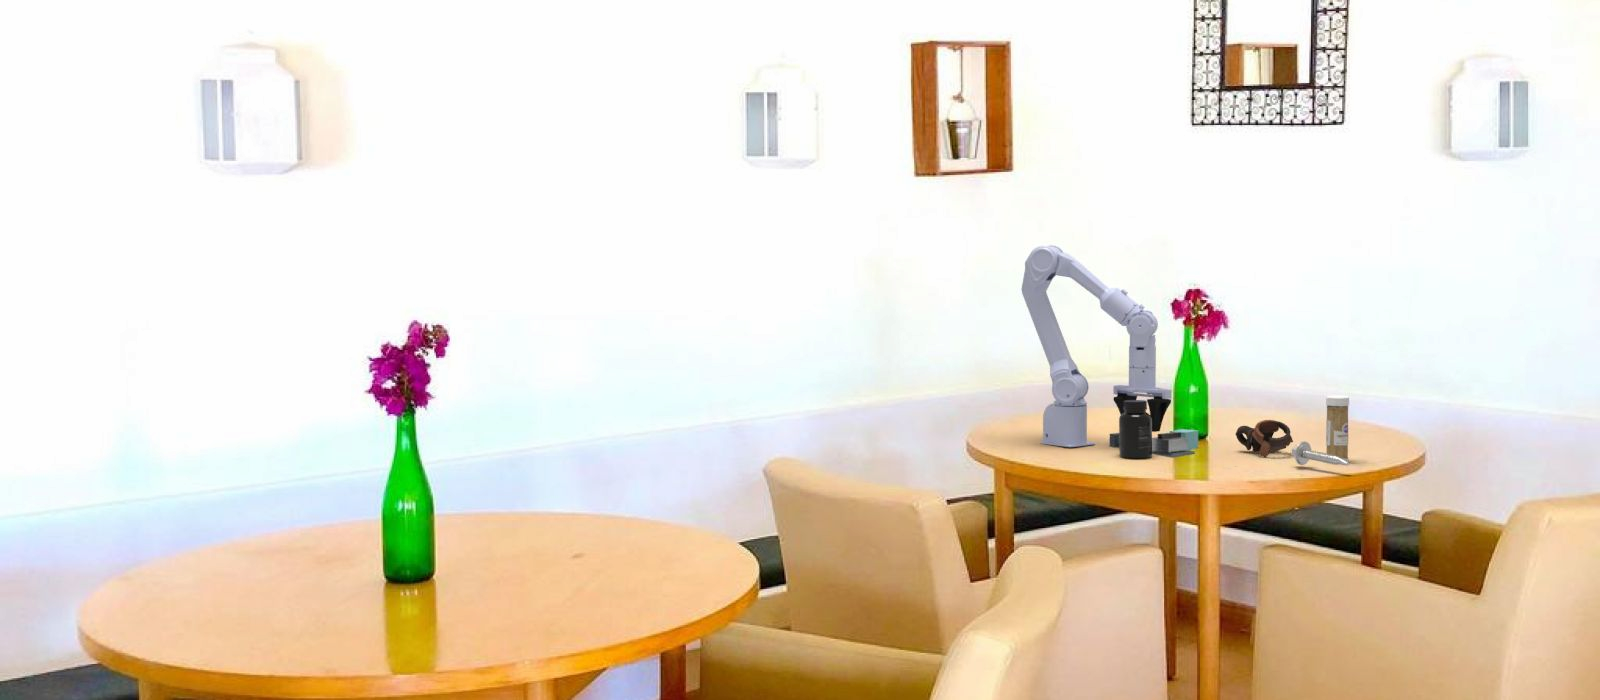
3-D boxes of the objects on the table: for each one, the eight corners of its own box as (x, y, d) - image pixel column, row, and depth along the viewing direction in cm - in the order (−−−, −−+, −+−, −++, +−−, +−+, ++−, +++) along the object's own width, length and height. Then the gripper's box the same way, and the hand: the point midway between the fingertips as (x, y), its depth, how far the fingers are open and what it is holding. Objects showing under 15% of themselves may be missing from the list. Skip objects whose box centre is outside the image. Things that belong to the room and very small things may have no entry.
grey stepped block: (1150, 450, 394) (1150, 433, 394) (1169, 447, 398) (1170, 431, 397) (1168, 452, 390) (1168, 435, 390) (1187, 449, 394) (1187, 433, 393)
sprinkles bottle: (1344, 462, 379) (1345, 397, 378) (1322, 461, 381) (1323, 396, 380) (1351, 460, 382) (1352, 395, 381) (1329, 458, 385) (1330, 394, 384)
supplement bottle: (1150, 455, 393) (1150, 399, 392) (1153, 459, 386) (1153, 402, 386) (1117, 455, 394) (1118, 399, 393) (1120, 459, 387) (1120, 402, 386)
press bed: (1109, 449, 403) (1109, 433, 403) (1131, 447, 407) (1131, 431, 407) (1172, 457, 389) (1172, 441, 388) (1194, 455, 393) (1194, 438, 392)
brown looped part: (1292, 452, 395) (1298, 422, 391) (1282, 478, 388) (1288, 447, 384) (1237, 438, 400) (1242, 407, 395) (1226, 463, 393) (1231, 432, 388)
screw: (1286, 464, 376) (1288, 441, 375) (1301, 462, 379) (1303, 439, 378) (1340, 475, 365) (1342, 451, 365) (1355, 473, 368) (1357, 449, 368)
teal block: (1169, 451, 399) (1169, 431, 399) (1182, 449, 403) (1182, 429, 403) (1185, 453, 397) (1185, 432, 396) (1198, 451, 400) (1198, 430, 400)
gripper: (1104, 366, 402) (1103, 428, 403) (1156, 370, 391) (1156, 434, 392) (1125, 364, 406) (1125, 426, 407) (1178, 368, 395) (1177, 431, 396)
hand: (1141, 429), depth 400 cm, fingers open, 7 cm apart
